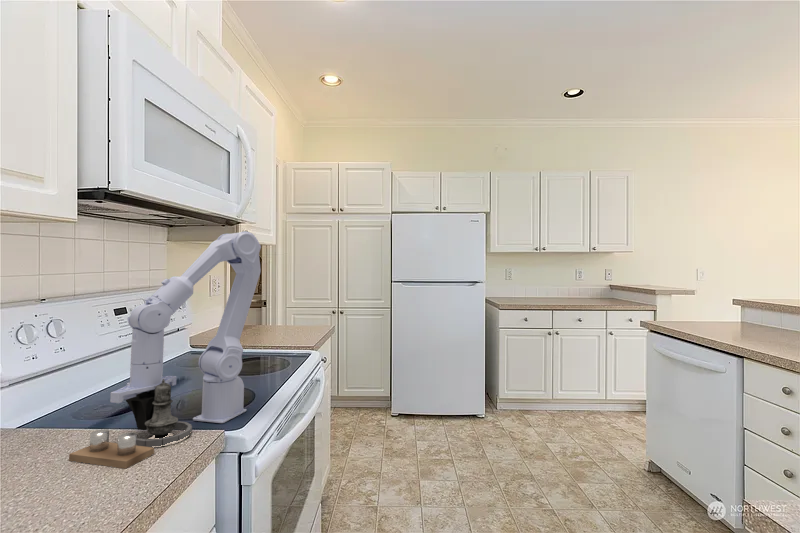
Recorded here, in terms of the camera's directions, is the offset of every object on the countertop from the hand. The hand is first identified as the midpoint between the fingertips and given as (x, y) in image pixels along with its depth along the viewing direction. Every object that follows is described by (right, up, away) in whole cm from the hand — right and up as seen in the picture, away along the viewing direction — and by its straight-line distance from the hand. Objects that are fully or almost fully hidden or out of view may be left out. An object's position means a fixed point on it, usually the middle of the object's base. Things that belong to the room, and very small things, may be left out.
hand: (144, 428), depth 84 cm
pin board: (+1, -1, -10) cm, 11 cm away
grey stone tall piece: (+4, -2, -2) cm, 5 cm away
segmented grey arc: (+6, -1, -1) cm, 6 cm away
